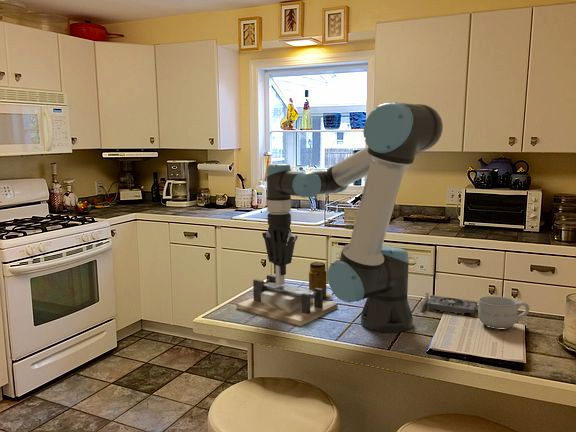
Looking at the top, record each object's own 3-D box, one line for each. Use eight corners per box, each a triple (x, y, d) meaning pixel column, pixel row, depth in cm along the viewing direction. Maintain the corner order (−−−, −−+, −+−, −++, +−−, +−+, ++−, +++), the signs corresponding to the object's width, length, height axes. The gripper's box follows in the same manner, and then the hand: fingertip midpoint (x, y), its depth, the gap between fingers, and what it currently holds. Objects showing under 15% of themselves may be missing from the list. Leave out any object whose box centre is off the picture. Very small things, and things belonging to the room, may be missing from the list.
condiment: (307, 294, 180) (308, 260, 179) (331, 294, 180) (332, 261, 178) (307, 300, 173) (307, 266, 171) (332, 300, 173) (333, 266, 171)
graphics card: (417, 302, 161) (425, 291, 172) (417, 313, 162) (425, 302, 172) (473, 310, 154) (478, 298, 164) (473, 322, 154) (477, 309, 165)
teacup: (476, 330, 146) (478, 303, 145) (476, 317, 156) (478, 292, 155) (530, 336, 141) (532, 308, 140) (526, 323, 151) (528, 297, 150)
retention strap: (318, 296, 160) (318, 290, 160) (309, 300, 156) (309, 294, 156) (268, 283, 173) (268, 278, 172) (258, 287, 169) (258, 282, 168)
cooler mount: (337, 307, 165) (337, 282, 164) (301, 326, 150) (300, 298, 148) (275, 293, 181) (275, 270, 180) (236, 308, 166) (236, 283, 164)
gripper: (302, 212, 161) (303, 285, 165) (271, 209, 169) (272, 278, 173) (288, 215, 156) (288, 290, 159) (256, 212, 164) (257, 283, 167)
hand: (280, 284), depth 166 cm, fingers closed
